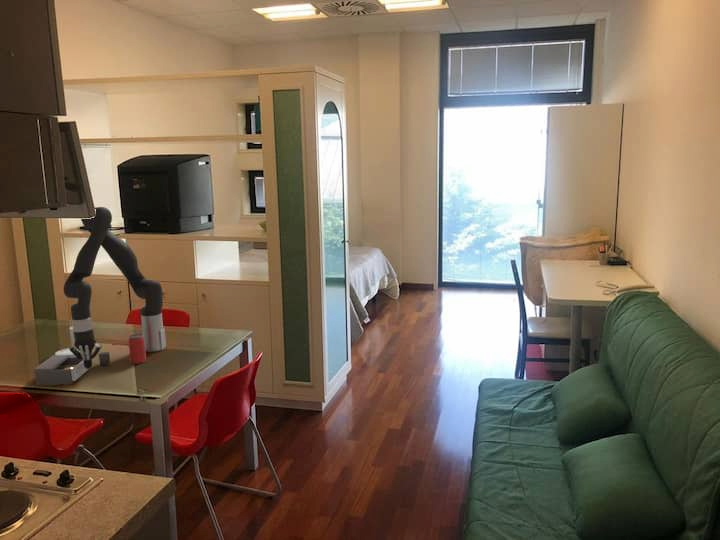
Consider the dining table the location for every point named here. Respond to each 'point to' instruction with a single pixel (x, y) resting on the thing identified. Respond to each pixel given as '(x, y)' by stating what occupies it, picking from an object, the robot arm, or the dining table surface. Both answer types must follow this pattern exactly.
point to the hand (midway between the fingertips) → (88, 367)
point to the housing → (55, 377)
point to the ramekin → (65, 352)
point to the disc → (66, 367)
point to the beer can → (137, 349)
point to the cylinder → (104, 358)
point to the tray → (76, 370)
